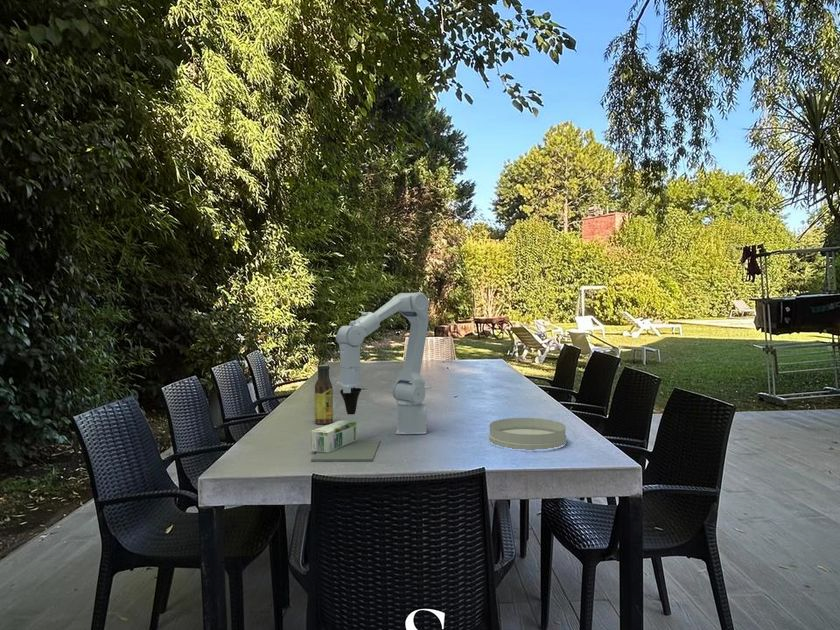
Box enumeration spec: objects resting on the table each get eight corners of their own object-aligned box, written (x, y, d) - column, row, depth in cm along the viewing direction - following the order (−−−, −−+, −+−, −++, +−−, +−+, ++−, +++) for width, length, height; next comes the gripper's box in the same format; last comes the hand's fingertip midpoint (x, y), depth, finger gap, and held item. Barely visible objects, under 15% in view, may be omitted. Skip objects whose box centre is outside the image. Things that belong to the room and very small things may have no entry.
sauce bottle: (329, 425, 184) (328, 366, 184) (311, 424, 185) (310, 366, 185) (336, 421, 191) (335, 364, 190) (319, 420, 192) (318, 364, 191)
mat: (379, 443, 159) (379, 441, 159) (372, 461, 141) (372, 459, 141) (325, 443, 160) (325, 441, 160) (311, 461, 142) (311, 459, 142)
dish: (480, 449, 153) (480, 431, 153) (498, 431, 174) (498, 415, 173) (561, 456, 145) (561, 437, 145) (570, 436, 165) (570, 420, 165)
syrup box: (357, 441, 160) (328, 453, 147) (340, 439, 163) (310, 451, 150) (356, 421, 160) (328, 432, 147) (339, 419, 163) (310, 430, 150)
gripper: (341, 364, 165) (341, 409, 166) (331, 370, 151) (332, 419, 151) (364, 364, 165) (364, 408, 166) (357, 370, 151) (358, 419, 151)
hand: (351, 414), depth 158 cm, fingers closed
